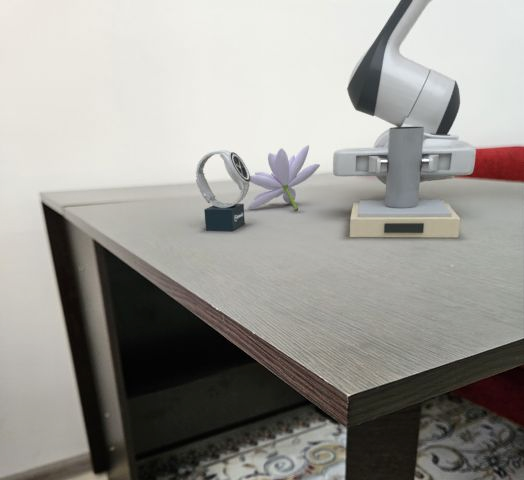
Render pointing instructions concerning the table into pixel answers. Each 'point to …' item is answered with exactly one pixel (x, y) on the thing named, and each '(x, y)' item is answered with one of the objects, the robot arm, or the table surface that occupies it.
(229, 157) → the watch
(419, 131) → the grey tall cylinder
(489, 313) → the table surface
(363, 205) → the scale
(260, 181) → the water lily
